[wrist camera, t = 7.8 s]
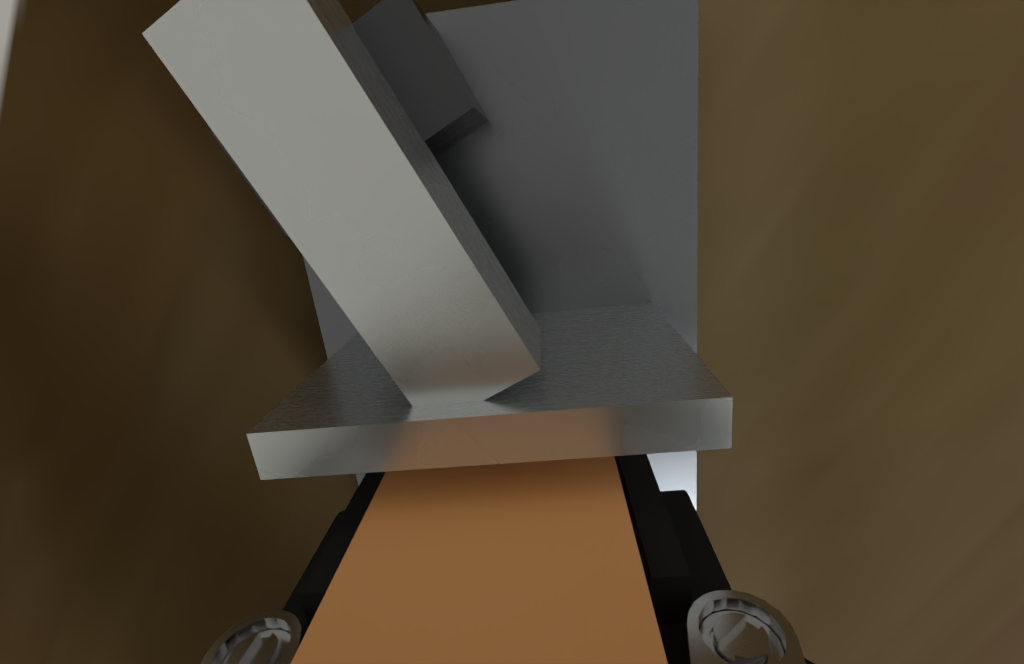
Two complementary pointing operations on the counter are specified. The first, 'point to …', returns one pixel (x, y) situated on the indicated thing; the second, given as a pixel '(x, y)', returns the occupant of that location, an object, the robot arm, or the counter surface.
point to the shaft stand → (473, 224)
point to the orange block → (491, 572)
